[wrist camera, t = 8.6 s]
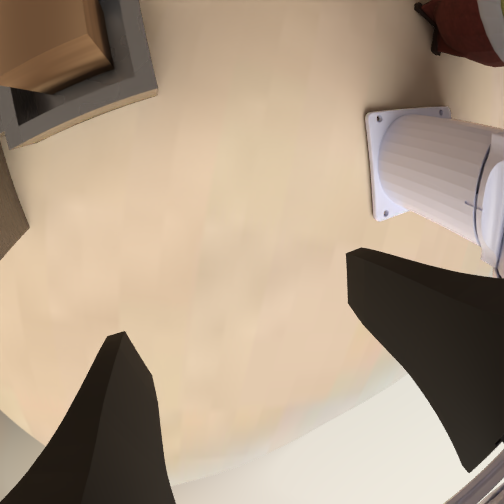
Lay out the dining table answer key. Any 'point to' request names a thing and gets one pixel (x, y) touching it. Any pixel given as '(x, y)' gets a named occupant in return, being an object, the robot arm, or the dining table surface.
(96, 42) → the brown rectangular block
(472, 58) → the mate gourd
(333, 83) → the dining table surface
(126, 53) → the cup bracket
